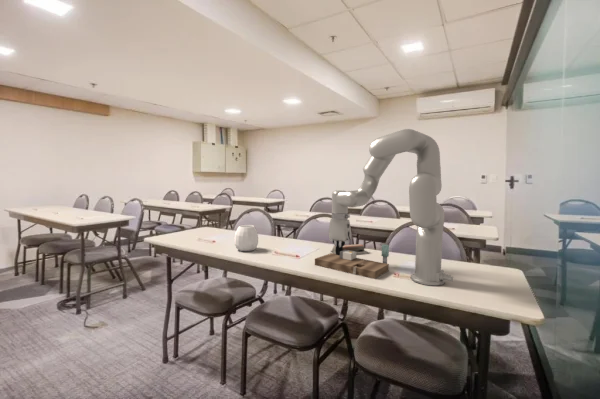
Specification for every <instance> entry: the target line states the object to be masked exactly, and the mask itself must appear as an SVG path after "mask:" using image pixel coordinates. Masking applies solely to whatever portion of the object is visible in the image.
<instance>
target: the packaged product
mask: <svg viewBox="0 0 600 399" xmlns="http://www.w3.org/2000/svg"><path fill="white" fill-rule="evenodd" d="M343 250H349V251H355V252H357V253H356V256H359V255H368V254H369V251H367V250H366V249H365V245H364V244H361V243H360V244H359V243H358V244H354V243H353V244H345V245H344V246H343ZM330 252H331V253H334V254H336V247H335V245H333V246H332V249H331V250H330Z"/></svg>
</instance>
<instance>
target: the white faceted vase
mask: <svg viewBox="0 0 600 399" xmlns="http://www.w3.org/2000/svg"><path fill="white" fill-rule="evenodd" d="M258 233H259V232H258V231H257V229H256V227H255V225H253V224H243V225H239V226H238V227H237V228H236V230H235V233H234V246H235V248H236V249H237V250H238V251H241V252H250V251H251V252H252V251H254V250H255V249H257V247H258V246H259V234H258Z"/></svg>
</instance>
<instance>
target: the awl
mask: <svg viewBox="0 0 600 399" xmlns="http://www.w3.org/2000/svg"><path fill="white" fill-rule="evenodd" d="M389 255H390V245H389V244H387V243H386V244H381V255H380V256H381V257H382V263H386V264H388V258H389Z"/></svg>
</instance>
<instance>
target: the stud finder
mask: <svg viewBox="0 0 600 399" xmlns="http://www.w3.org/2000/svg"><path fill="white" fill-rule="evenodd" d="M356 253H357V252H355V251H349V250H343V251H340V258H342V259H347V260H353V259H355V258H357V255H356Z"/></svg>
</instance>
